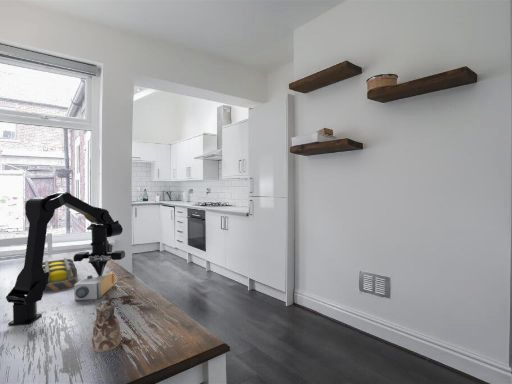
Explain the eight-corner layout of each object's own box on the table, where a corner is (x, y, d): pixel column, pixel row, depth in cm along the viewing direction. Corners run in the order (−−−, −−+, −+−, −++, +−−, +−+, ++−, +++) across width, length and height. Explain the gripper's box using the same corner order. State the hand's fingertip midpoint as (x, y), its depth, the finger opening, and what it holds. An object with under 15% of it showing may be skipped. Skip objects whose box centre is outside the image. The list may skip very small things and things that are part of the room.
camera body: (94, 300, 112) (94, 282, 112) (72, 301, 111) (71, 283, 111) (107, 289, 124) (107, 273, 124) (87, 290, 123) (86, 274, 123)
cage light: (72, 255, 153) (78, 268, 128) (72, 271, 153) (79, 287, 129) (37, 260, 144) (36, 274, 120) (37, 276, 144) (37, 294, 120)
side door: (101, 298, 114) (100, 282, 114) (97, 298, 114) (97, 282, 114) (115, 285, 129) (114, 271, 129) (112, 285, 129) (111, 271, 129)
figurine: (85, 350, 78) (84, 305, 78) (103, 336, 85) (102, 295, 85) (109, 352, 77) (108, 306, 76) (126, 338, 84) (125, 296, 83)
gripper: (128, 235, 134) (129, 269, 134) (84, 236, 132) (85, 271, 132) (120, 239, 123) (121, 277, 123) (72, 241, 121) (73, 279, 121)
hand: (100, 276), depth 125 cm, fingers closed
